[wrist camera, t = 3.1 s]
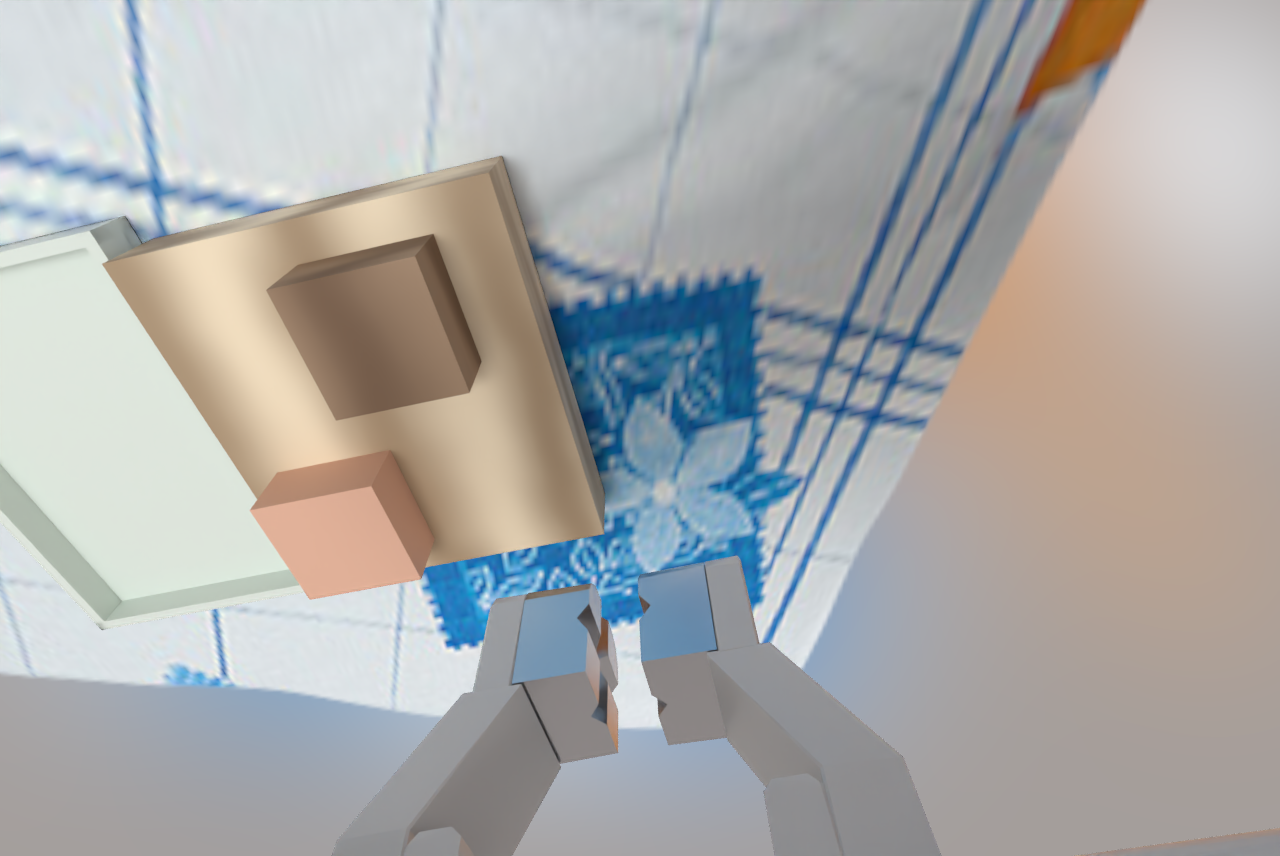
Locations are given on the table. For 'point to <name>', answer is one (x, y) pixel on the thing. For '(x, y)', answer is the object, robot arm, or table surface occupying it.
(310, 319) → the walnut tile
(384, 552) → the terracotta tile
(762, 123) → the table surface
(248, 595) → the tray
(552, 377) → the board
